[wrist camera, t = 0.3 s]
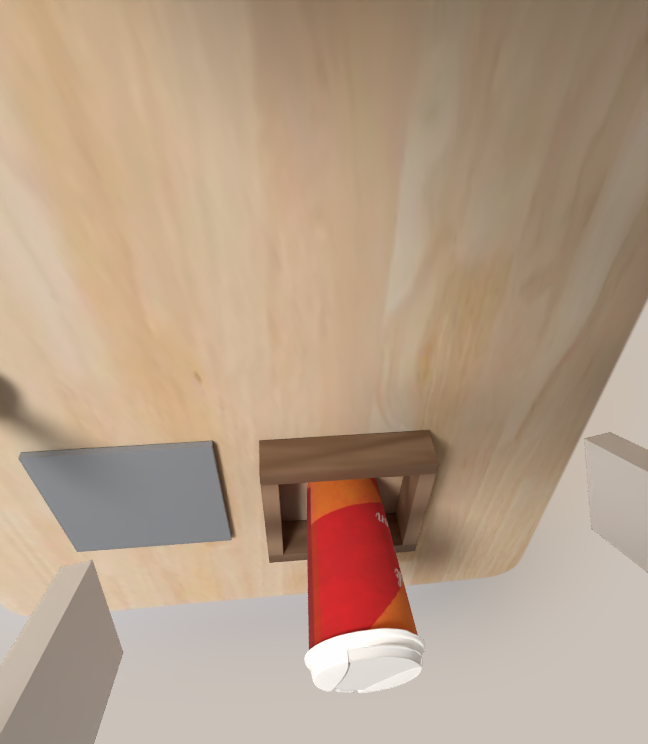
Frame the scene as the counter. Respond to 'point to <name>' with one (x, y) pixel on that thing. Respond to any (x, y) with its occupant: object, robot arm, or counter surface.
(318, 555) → the paper cup
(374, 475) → the cup holder
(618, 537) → the robot arm
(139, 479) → the slate mat
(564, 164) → the counter surface
